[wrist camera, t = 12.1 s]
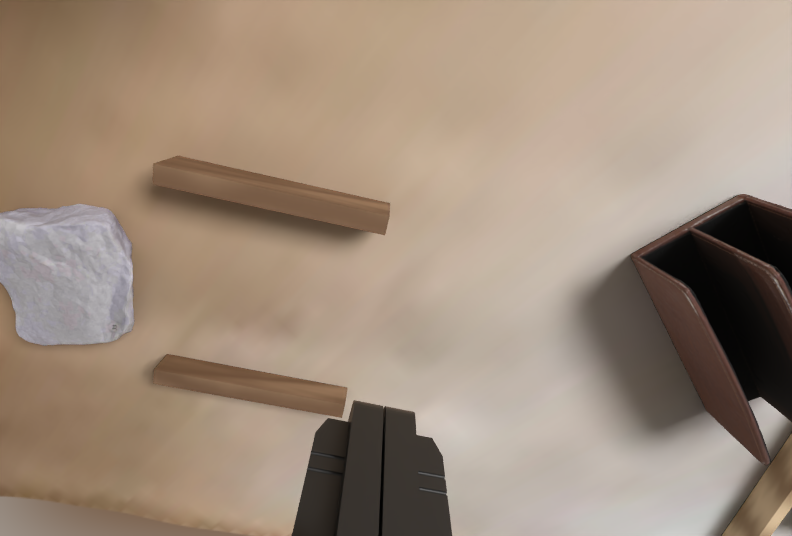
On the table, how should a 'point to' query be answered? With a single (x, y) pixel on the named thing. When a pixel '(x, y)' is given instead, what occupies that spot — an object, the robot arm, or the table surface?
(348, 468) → the robot arm
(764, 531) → the wooden picture frame
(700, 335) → the letter holder
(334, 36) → the table surface
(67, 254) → the stone block
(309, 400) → the pair of wooden bars
